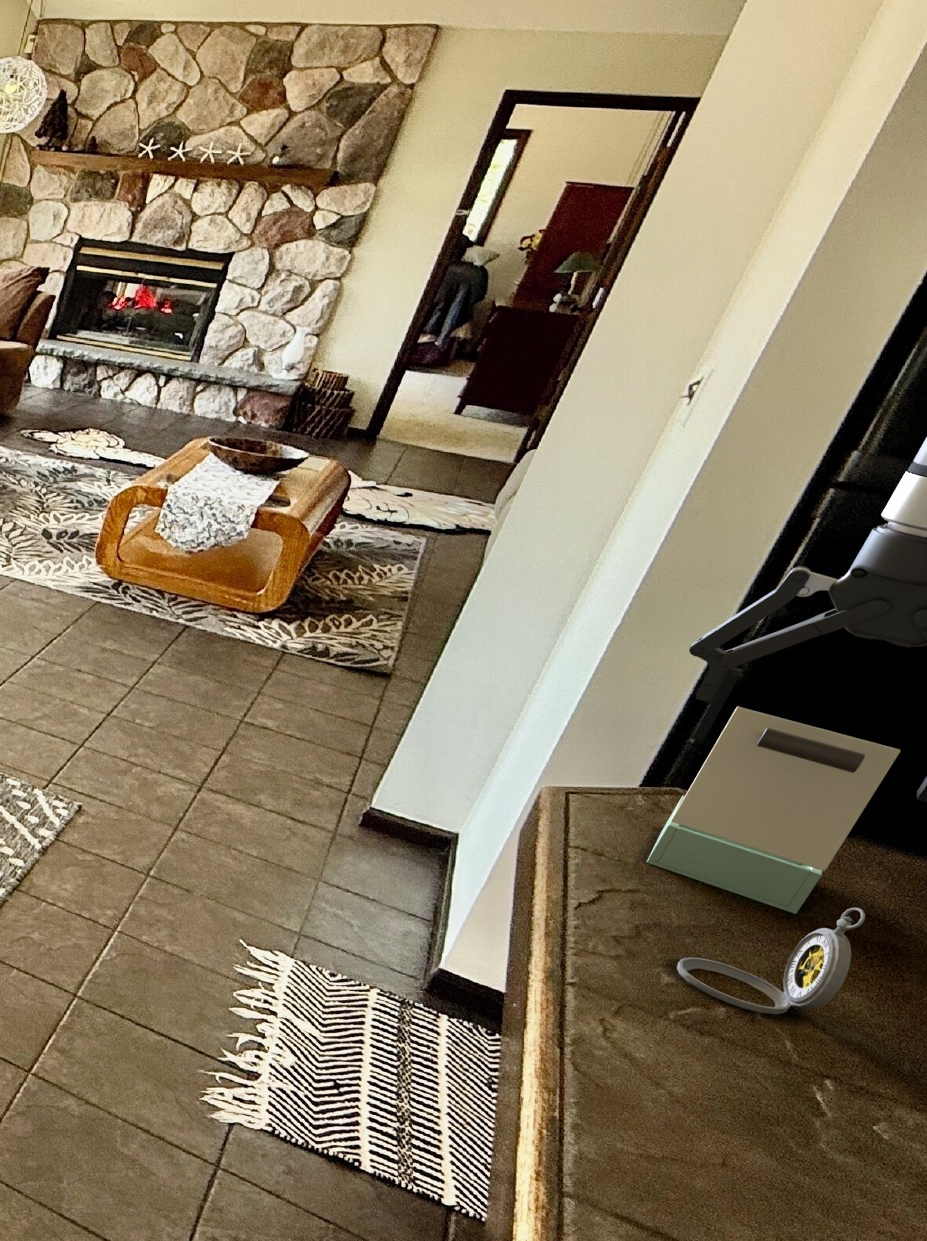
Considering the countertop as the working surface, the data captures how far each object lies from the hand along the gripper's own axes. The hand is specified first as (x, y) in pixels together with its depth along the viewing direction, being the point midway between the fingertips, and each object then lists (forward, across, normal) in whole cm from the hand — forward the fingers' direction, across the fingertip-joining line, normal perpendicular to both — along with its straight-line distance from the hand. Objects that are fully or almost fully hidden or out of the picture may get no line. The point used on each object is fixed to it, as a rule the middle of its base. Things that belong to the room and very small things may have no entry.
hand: (806, 765), depth 103 cm
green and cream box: (+16, 0, +12) cm, 20 cm away
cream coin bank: (+5, 0, +8) cm, 9 cm away
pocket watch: (+16, +3, -17) cm, 24 cm away
